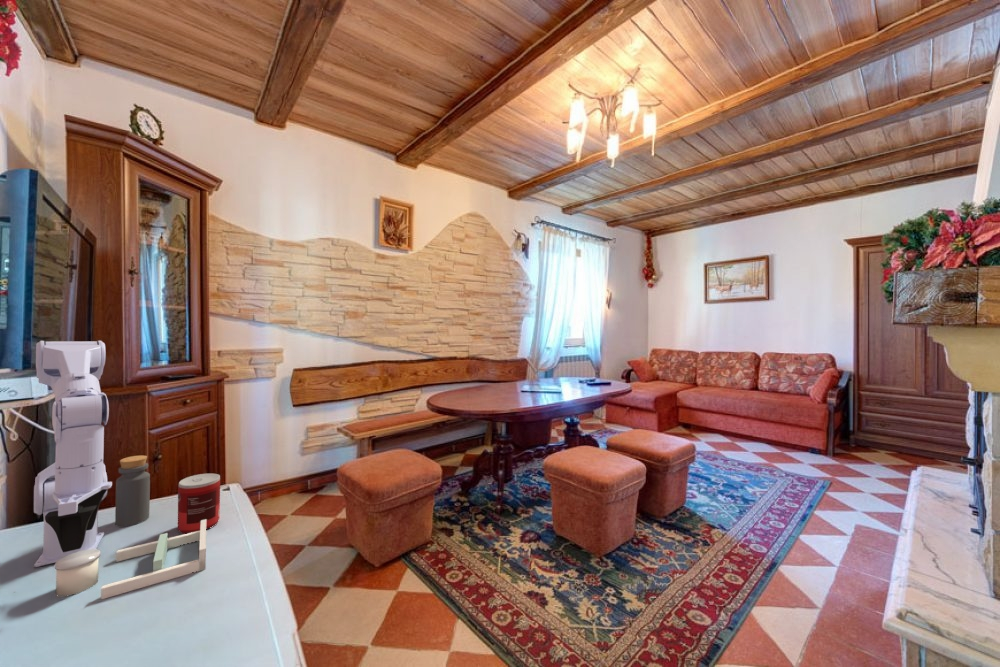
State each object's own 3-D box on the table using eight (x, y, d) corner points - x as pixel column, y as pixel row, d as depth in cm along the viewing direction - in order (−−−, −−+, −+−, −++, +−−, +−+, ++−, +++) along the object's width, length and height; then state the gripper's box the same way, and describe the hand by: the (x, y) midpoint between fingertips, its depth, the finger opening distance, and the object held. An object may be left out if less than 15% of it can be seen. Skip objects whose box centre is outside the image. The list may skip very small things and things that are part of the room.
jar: (59, 584, 67) (60, 555, 67) (102, 573, 71) (103, 545, 71) (49, 601, 63) (50, 570, 63) (95, 589, 66) (96, 559, 66)
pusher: (159, 550, 78) (159, 534, 78) (167, 548, 78) (167, 532, 78) (152, 579, 69) (153, 561, 69) (161, 576, 69) (162, 559, 69)
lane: (117, 559, 75) (117, 539, 75) (206, 537, 83) (206, 519, 83) (100, 599, 64) (101, 576, 64) (205, 569, 72) (205, 548, 72)
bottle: (127, 528, 86) (129, 463, 86) (108, 525, 88) (109, 461, 88) (155, 516, 92) (156, 455, 92) (137, 513, 93) (138, 453, 93)
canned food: (199, 516, 92) (200, 472, 92) (228, 519, 91) (228, 474, 91) (167, 532, 85) (168, 484, 85) (198, 536, 84) (199, 486, 84)
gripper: (103, 471, 64) (101, 551, 64) (119, 449, 75) (118, 516, 75) (39, 480, 59) (37, 566, 59) (66, 455, 71) (65, 527, 71)
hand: (78, 539), depth 67 cm, fingers open, 7 cm apart
